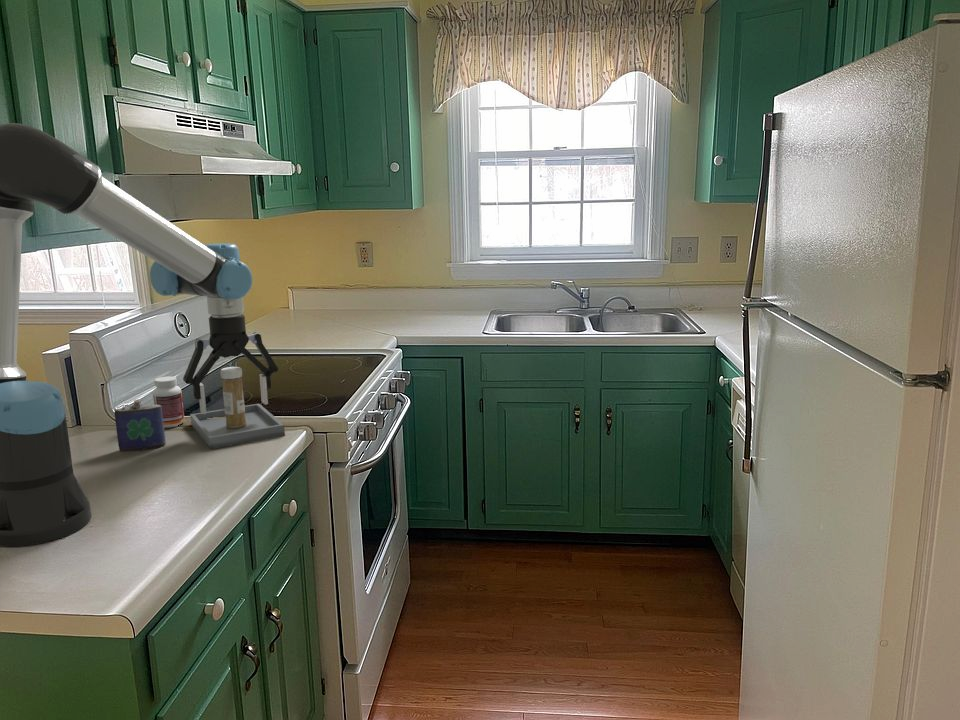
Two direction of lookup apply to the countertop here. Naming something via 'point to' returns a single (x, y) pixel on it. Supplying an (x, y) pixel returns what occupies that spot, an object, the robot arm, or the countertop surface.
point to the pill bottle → (169, 400)
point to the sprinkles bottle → (233, 397)
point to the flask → (139, 427)
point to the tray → (222, 436)
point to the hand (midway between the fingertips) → (234, 407)
